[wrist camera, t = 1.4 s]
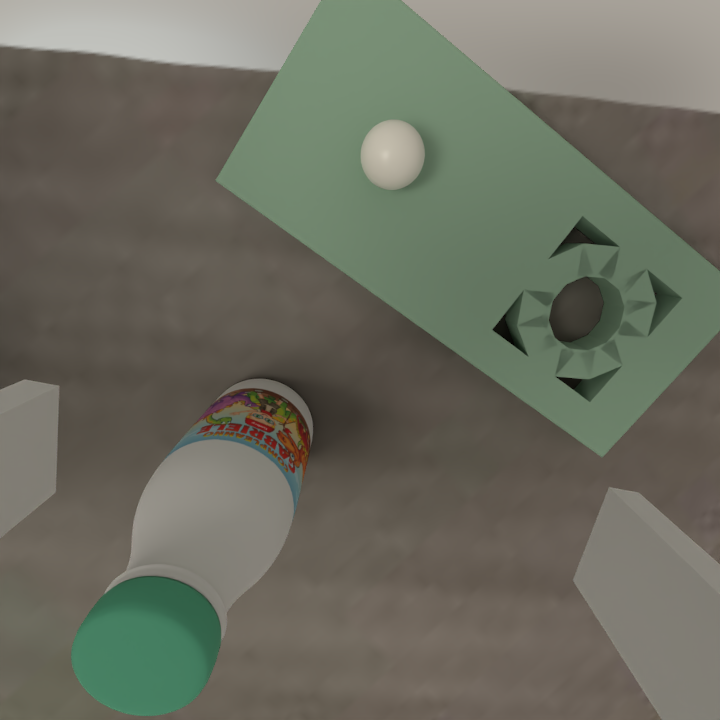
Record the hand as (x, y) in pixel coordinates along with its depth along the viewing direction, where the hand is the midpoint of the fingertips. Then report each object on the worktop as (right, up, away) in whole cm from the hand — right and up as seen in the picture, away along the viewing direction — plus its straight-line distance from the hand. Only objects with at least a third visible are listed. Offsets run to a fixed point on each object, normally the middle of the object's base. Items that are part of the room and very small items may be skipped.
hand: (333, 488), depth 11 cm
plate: (+9, +11, +20) cm, 24 cm away
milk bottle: (-7, -2, +23) cm, 24 cm away
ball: (+2, +15, +14) cm, 21 cm away
